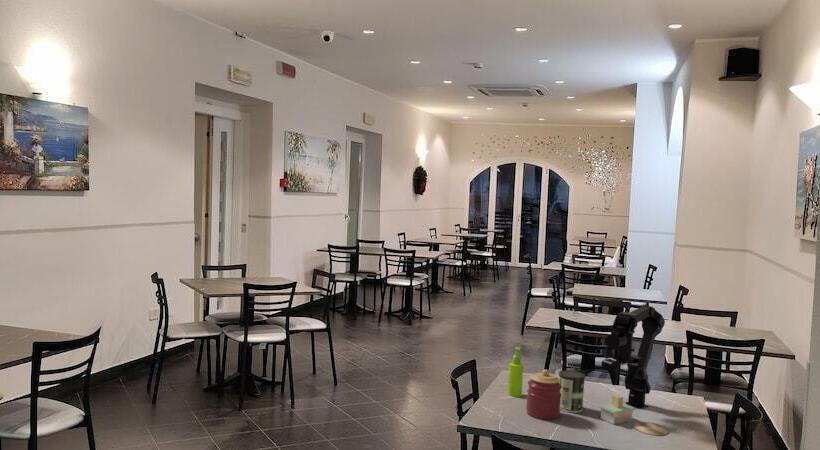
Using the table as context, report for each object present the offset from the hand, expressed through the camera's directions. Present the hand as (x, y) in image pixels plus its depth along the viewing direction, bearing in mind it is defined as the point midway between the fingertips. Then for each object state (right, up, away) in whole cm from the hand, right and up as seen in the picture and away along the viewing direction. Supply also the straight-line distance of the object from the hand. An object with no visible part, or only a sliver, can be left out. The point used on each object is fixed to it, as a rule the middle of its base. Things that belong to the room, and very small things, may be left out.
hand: (621, 383), depth 253 cm
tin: (-5, -12, -8) cm, 15 cm away
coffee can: (-20, -11, +3) cm, 23 cm away
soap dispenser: (-40, -9, +17) cm, 44 cm away
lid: (-4, -8, -8) cm, 12 cm away
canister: (-33, -11, -5) cm, 35 cm away
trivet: (+6, -13, -15) cm, 21 cm away
